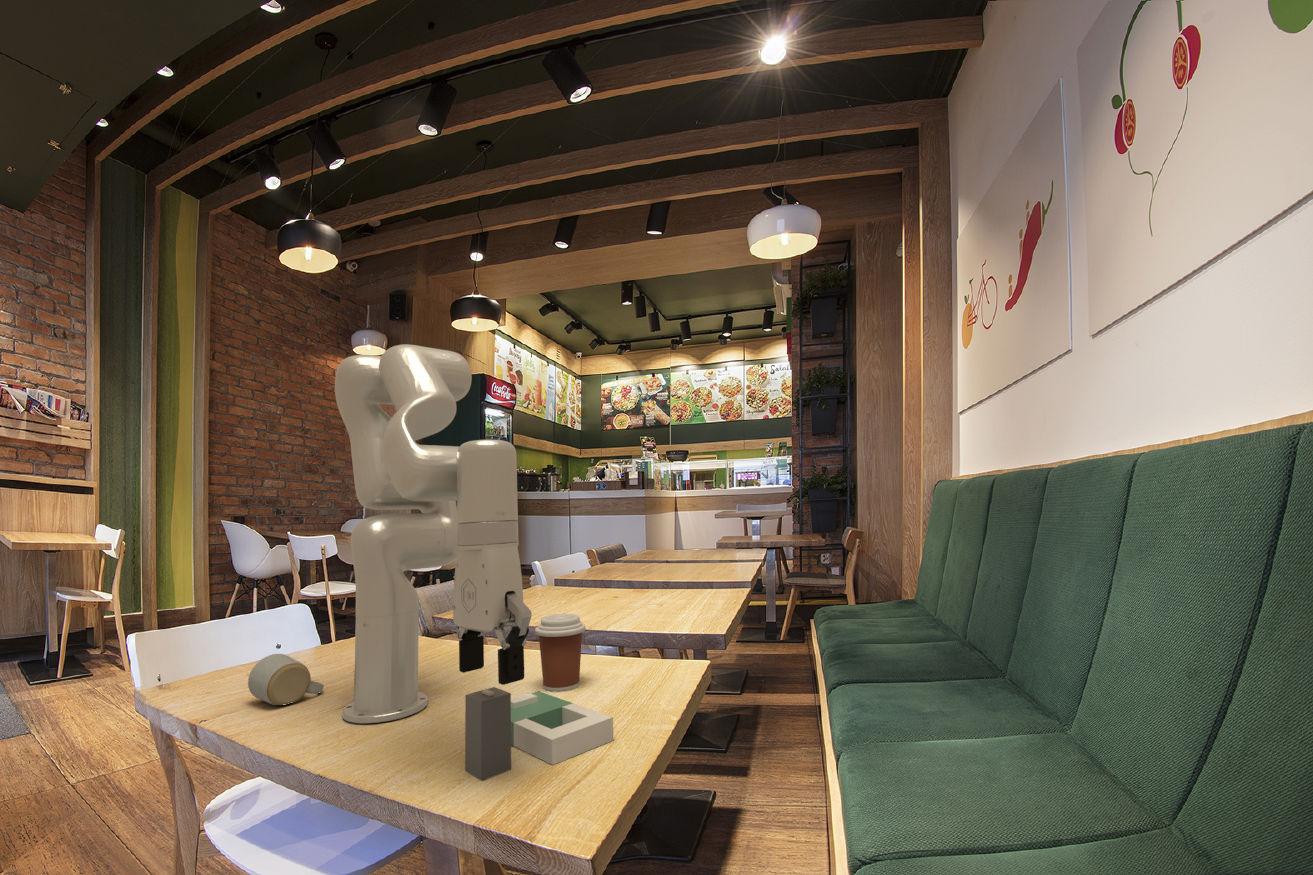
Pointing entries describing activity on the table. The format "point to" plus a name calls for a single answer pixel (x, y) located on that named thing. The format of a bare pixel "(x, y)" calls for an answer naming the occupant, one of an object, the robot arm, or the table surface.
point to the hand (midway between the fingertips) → (490, 675)
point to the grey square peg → (487, 733)
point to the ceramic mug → (281, 680)
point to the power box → (556, 727)
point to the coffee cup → (560, 651)
